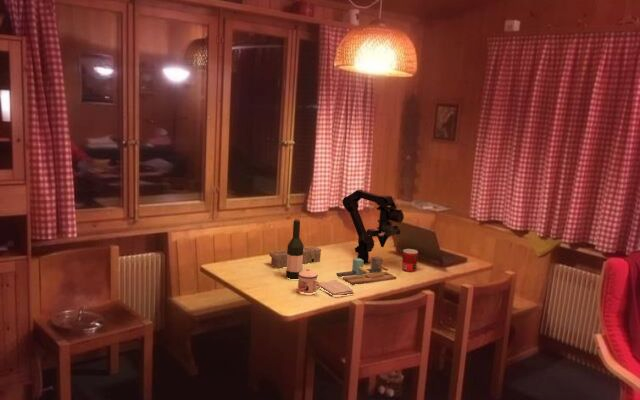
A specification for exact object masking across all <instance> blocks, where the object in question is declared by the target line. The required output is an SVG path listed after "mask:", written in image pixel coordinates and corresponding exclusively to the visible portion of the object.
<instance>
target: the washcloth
mask: <svg viewBox="0 0 640 400" xmlns="http://www.w3.org/2000/svg"><path fill="white" fill-rule="evenodd" d="M319 282H320V281H319ZM317 286H318V284H317ZM320 287H321V288H323V289H324V290H326V291H328V292H329V293H331V294H332V295H347V294H355V293H354V291H353V290H354V289H352V288H351V287H350V286H349V285H348V284H345V283H343V282H341V281H339V280H338V279H331V280H329V281H321V282H320Z"/></svg>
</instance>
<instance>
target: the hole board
mask: <svg viewBox="0 0 640 400" xmlns="http://www.w3.org/2000/svg"><path fill="white" fill-rule="evenodd" d="M344 280H345V281H344ZM392 280H397V276H395V275H393V274H391V273H390V272H388V271H382V272H375V273H368V274H362V275H352V276H344V277H342V281H344V282H346V283H347V282H348V284H349V283H350V285H351V284H352V285H351V286H356V285H355V284H358V285H363V284H364V283H365V284H371V283H378V282H379V283H380V282H387V281H392Z"/></svg>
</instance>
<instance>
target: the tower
mask: <svg viewBox="0 0 640 400" xmlns="http://www.w3.org/2000/svg"><path fill="white" fill-rule="evenodd" d="M321 253H322V248H320V247H317V246H311V245H309V246H308V245H307V246H303V264H304V265H308V263H310V264H312V263H313V264H315V263H320V262H321V256H322V255H321ZM268 257H271V258H270V259H271V261H270V266H272V265H273V266H272V267H274V266H275V267H274V268H276V267H277V268H276V269H278V268H282V269H284V268H283V267H287V249H281V250H274V251H269V256H268Z"/></svg>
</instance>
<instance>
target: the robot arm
mask: <svg viewBox="0 0 640 400" xmlns="http://www.w3.org/2000/svg"><path fill="white" fill-rule="evenodd" d="M361 199H363V200H366V201H369V202H373V203H375V204H376V205H377V206H378V207H377V208H376V210H379V219H377V222H378V227H376V229H375V228H367V229H366V228H365V225H364V222H363V220H362V218H361V217H362V216H361V215H360V211H359V202H360V201H361ZM342 205H343V207H344V209H345V210H346V212H348V213H349V215H350V217H351V221H352V223H353V226H354V228H355V231H356V233H357V235H358V240H357V242H358V245H357V246H356V247H355V248H354V252H355V253H357V256H356V257H357V258H360V259H362V260H364V263H363V265H368V264H371V262H370V261H369V256H370V255H369V254H370V252H372V250H373V249H374V247H375V240H374V239H373V238H374V237H377V240H378V241H379V245H380V247H381V248H384V246H385V244H386V243H387V240H388V239H389V238H391V237H392V236H395V235H400V234H401V229H400V228H399V226H398V225H392V222H396V223H400V224H401V223H403V221H404V218H405V215H404V213H403V210H402V209H398V208H397V205H396V203H395V201H394V198H393V196H392V195H389V194H388V195H386V194H382V195H381V194H377V193H376V194H375V193H373V192H370V191H366V190H363V189H357V190H355V191H354V192H353V193H351V194H348V195H347V196H344V197H343V199H342ZM357 258H356V259H357Z"/></svg>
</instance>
